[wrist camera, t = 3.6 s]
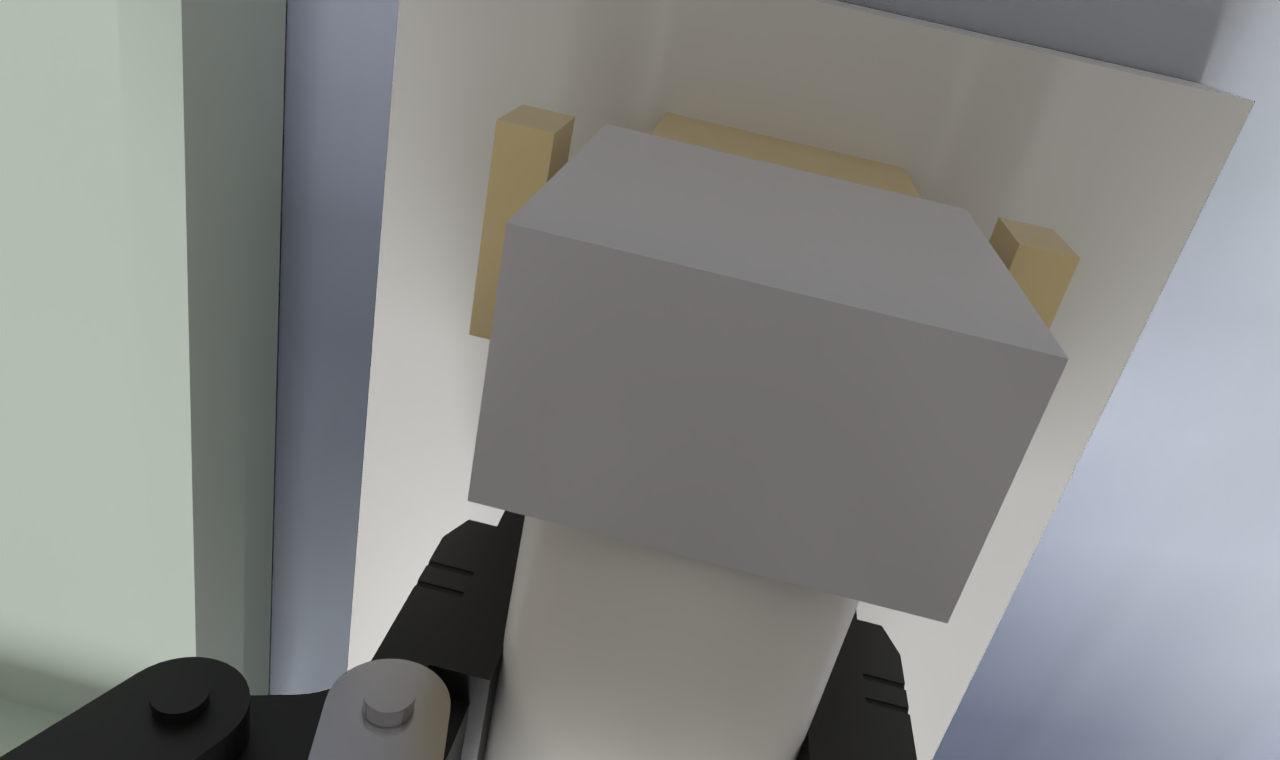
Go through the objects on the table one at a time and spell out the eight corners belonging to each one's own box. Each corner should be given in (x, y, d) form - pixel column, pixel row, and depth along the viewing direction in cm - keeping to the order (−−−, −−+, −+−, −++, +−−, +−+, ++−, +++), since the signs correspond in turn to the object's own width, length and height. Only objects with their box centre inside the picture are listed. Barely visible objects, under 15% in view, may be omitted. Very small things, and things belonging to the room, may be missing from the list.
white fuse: (606, 123, 10) (506, 223, 6) (966, 208, 10) (1069, 359, 6) (471, 870, 16) (378, 1142, 12) (697, 932, 16) (671, 1226, 12)
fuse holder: (1201, 83, 12) (1383, 144, 8) (835, 877, 19) (845, 1095, 15) (448, -88, 12) (307, -103, 9) (367, 751, 19) (272, 936, 16)
